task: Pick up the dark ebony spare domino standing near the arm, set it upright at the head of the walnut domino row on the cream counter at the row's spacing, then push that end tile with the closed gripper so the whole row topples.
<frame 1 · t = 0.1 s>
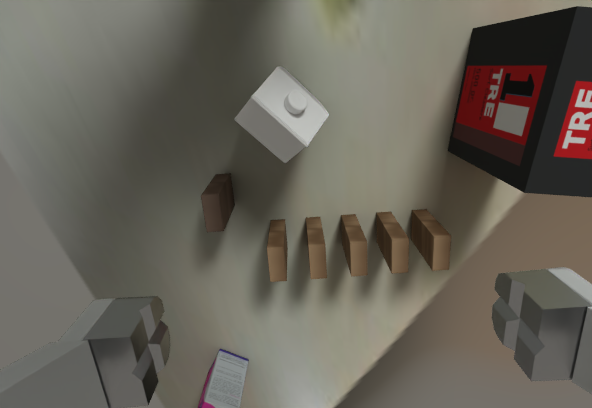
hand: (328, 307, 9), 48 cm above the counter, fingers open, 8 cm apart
tile 6: (418, 224, 61), on the counter
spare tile: (225, 189, 59), on the counter
tile 4: (348, 229, 61), on the counter
supplement box: (228, 364, 70), on the counter
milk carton: (284, 103, 55), on the counter
tile 5: (383, 226, 61), on the counter
tile 2: (279, 234, 61), on the counter
tile 3: (313, 231, 61), on the counter
cleaning product box: (490, 95, 54), on the counter
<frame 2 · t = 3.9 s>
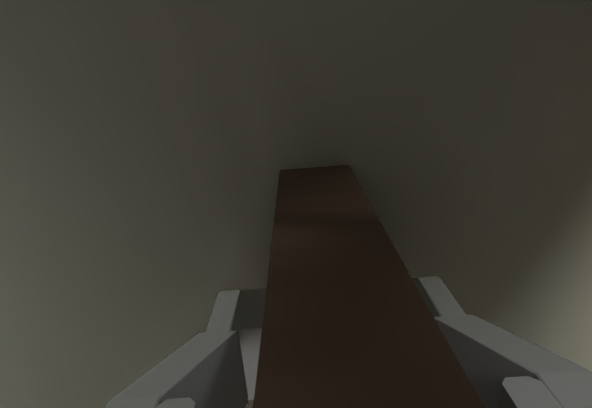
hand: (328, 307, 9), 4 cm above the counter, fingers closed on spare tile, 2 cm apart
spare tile: (318, 238, 13), on the counter, touching gripper
when the fingers open (5 cm above the counter, at t = 8.8 s): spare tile stays where it is, on the counter.
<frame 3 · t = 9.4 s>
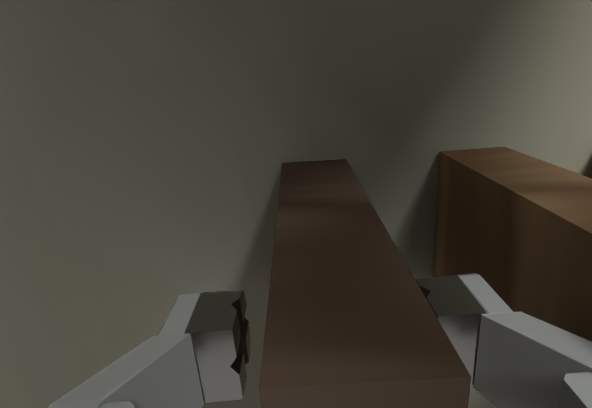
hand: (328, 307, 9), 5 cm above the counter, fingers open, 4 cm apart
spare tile: (316, 227, 14), on the counter
tile 2: (466, 216, 14), on the counter, touching gripper
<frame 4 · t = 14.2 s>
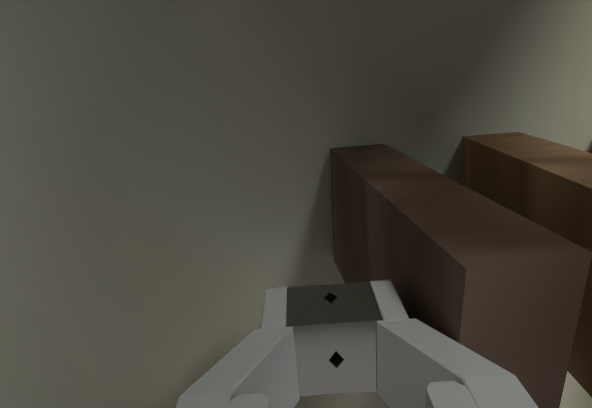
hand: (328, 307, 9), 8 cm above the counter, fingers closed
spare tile: (357, 204, 16), on the counter, tilted 7°, touching gripper
tile 2: (485, 192, 16), on the counter
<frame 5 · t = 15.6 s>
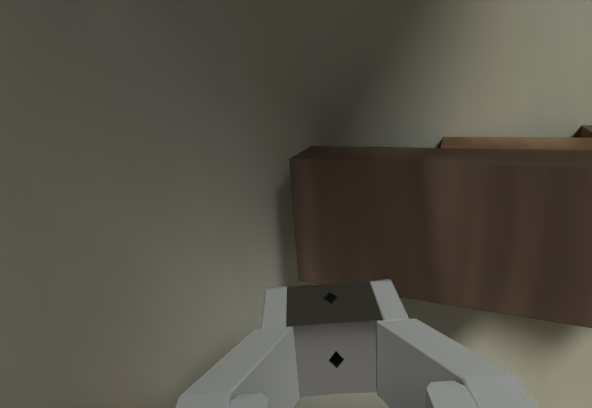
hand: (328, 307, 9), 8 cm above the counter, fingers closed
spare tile: (305, 212, 16), point 1 cm above the counter, tilted 66°, touching tile 2
tile 2: (438, 203, 16), point 1 cm above the counter, tilted 67°, touching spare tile, tile 3
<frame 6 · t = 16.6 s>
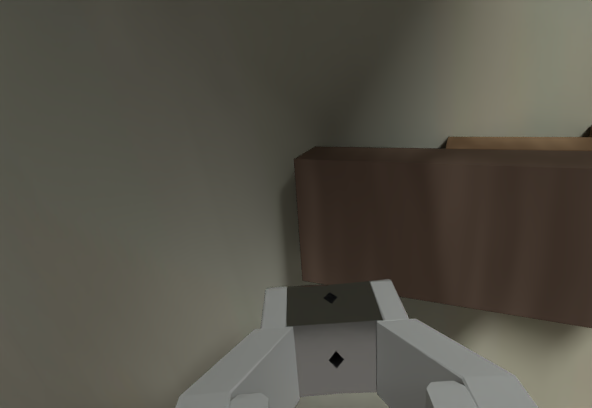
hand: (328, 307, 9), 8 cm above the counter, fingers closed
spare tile: (308, 213, 16), point 1 cm above the counter, tilted 66°, touching tile 2
tile 2: (443, 203, 16), point 1 cm above the counter, tilted 67°, touching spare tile, tile 3
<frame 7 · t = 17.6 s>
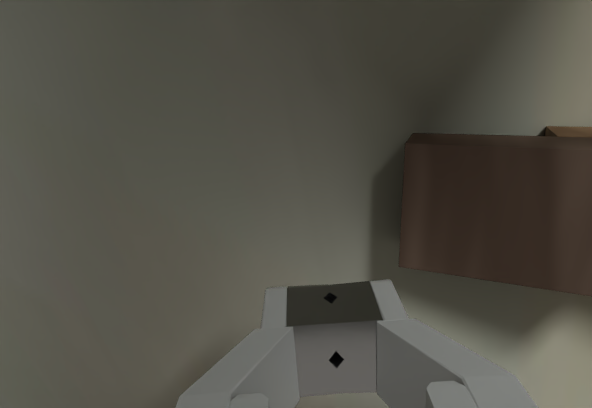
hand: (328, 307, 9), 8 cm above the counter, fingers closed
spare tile: (405, 199, 16), point 1 cm above the counter, tilted 67°, touching tile 2
tile 2: (540, 192, 16), point 1 cm above the counter, tilted 67°, touching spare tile, tile 3
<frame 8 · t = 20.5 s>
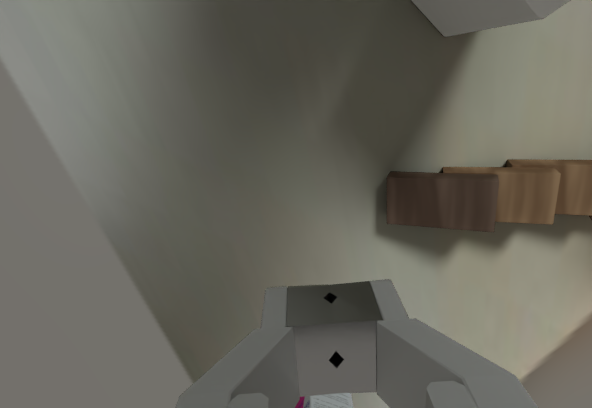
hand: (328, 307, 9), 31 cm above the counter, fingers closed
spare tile: (388, 197, 40), point 1 cm above the counter, tilted 67°, touching tile 2
supplement box: (318, 380, 50), on the counter
tile 2: (442, 193, 40), point 1 cm above the counter, tilted 71°, touching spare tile, tile 3
tile 3: (506, 185, 40), point 1 cm above the counter, tilted 73°, touching tile 2, tile 4
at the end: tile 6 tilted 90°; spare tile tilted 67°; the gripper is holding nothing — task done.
